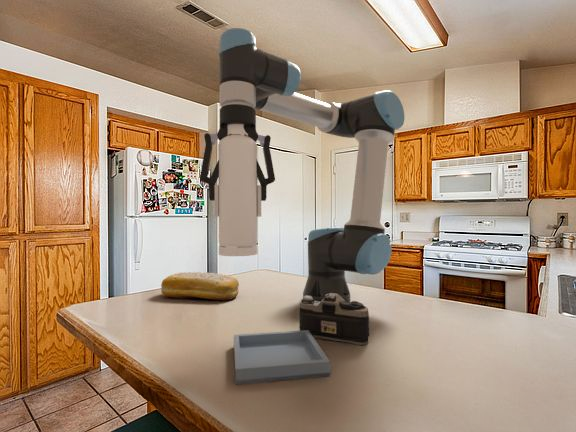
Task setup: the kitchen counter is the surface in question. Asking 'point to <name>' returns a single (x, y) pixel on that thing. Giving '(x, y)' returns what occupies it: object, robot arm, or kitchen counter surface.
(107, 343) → the kitchen counter surface
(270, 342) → the tray
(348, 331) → the camera
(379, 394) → the kitchen counter surface
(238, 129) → the bottle
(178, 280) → the bread
